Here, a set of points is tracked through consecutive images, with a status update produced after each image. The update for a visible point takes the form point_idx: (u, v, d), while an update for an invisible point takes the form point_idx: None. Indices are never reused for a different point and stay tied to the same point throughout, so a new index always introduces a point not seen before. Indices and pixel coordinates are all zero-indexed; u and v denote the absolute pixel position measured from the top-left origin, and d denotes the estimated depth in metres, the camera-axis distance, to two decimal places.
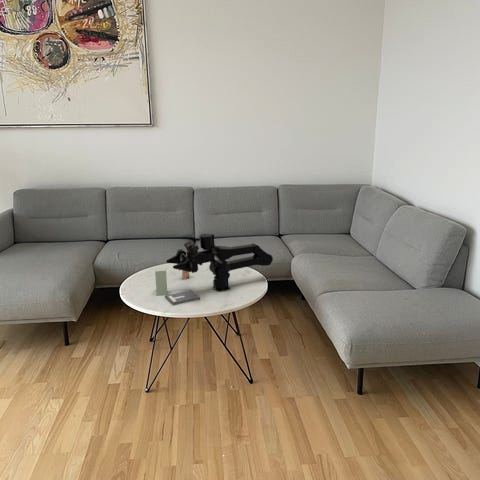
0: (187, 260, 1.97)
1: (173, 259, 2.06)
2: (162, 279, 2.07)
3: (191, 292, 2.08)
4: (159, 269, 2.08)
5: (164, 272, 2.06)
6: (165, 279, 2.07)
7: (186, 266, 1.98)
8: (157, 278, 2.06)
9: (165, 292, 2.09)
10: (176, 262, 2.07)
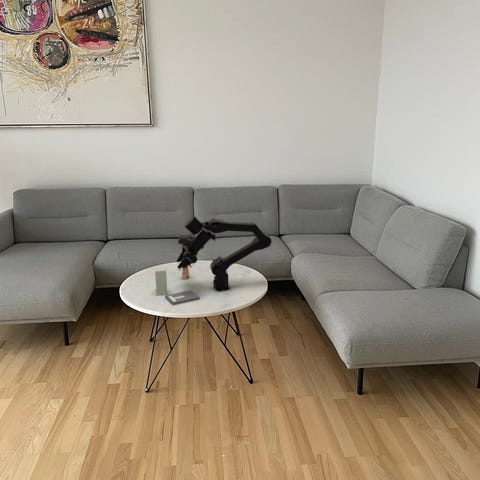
0: (183, 256, 2.01)
1: (181, 256, 2.13)
2: (162, 279, 2.07)
3: (191, 292, 2.08)
4: (159, 269, 2.08)
5: (164, 272, 2.06)
6: (165, 279, 2.07)
7: (187, 260, 2.03)
8: (157, 278, 2.06)
9: (165, 292, 2.09)
10: None
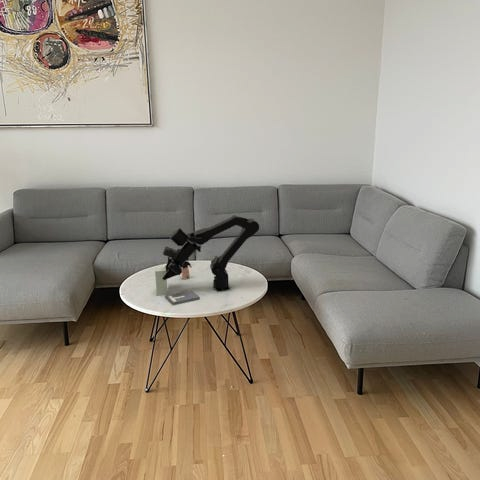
0: (168, 267, 2.02)
1: (167, 267, 2.13)
2: (162, 279, 2.07)
3: (191, 292, 2.08)
4: (159, 269, 2.08)
5: (164, 272, 2.06)
6: None
7: (172, 272, 2.03)
8: (157, 278, 2.06)
9: (165, 292, 2.09)
10: None
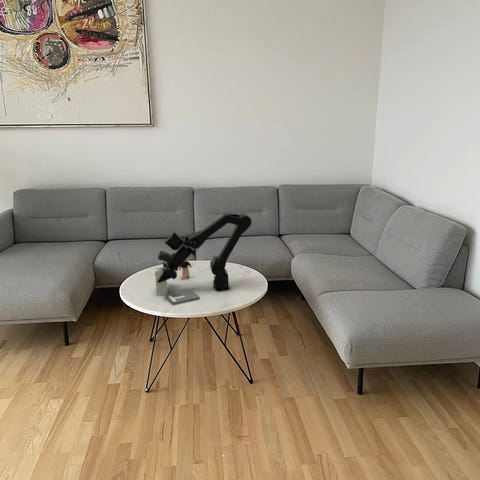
0: (163, 270, 2.04)
1: None
2: None
3: (191, 292, 2.08)
4: (159, 269, 2.08)
5: None
6: None
7: (167, 275, 2.05)
8: (157, 278, 2.06)
9: (165, 292, 2.09)
10: None
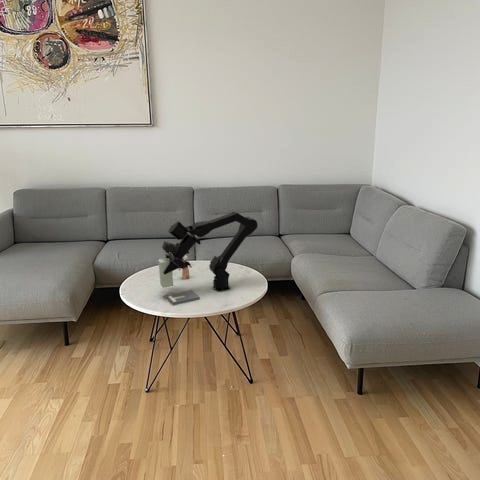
0: (170, 261, 1.98)
1: None
2: None
3: (191, 292, 2.08)
4: (163, 260, 2.02)
5: None
6: None
7: (173, 265, 2.00)
8: (163, 269, 2.00)
9: (171, 283, 2.03)
10: None
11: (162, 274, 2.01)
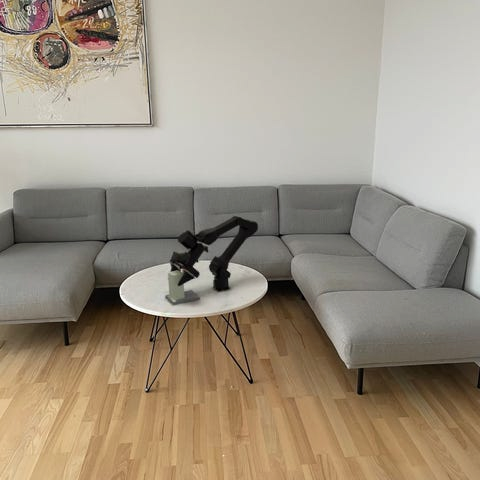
0: (185, 272, 1.94)
1: None
2: None
3: (191, 292, 2.08)
4: (174, 273, 1.98)
5: (181, 275, 1.98)
6: None
7: (187, 276, 1.96)
8: (175, 282, 1.97)
9: (182, 296, 2.01)
10: None
11: (174, 287, 1.97)
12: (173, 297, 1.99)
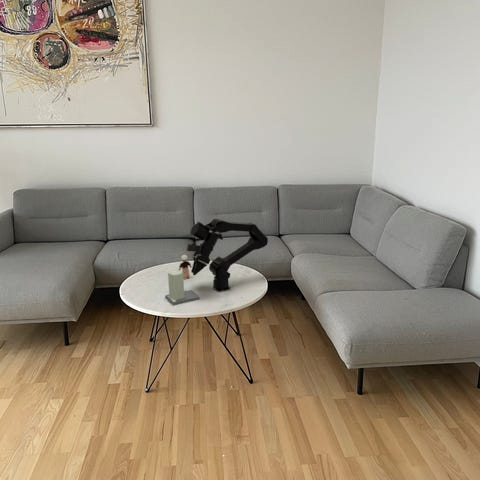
0: (195, 260, 1.99)
1: (194, 265, 2.11)
2: (180, 283, 1.98)
3: (191, 292, 2.08)
4: (174, 273, 1.98)
5: (181, 275, 1.98)
6: (182, 282, 1.99)
7: (200, 264, 2.01)
8: (175, 282, 1.97)
9: (182, 296, 2.01)
10: None
11: (174, 287, 1.97)
12: (173, 297, 1.99)
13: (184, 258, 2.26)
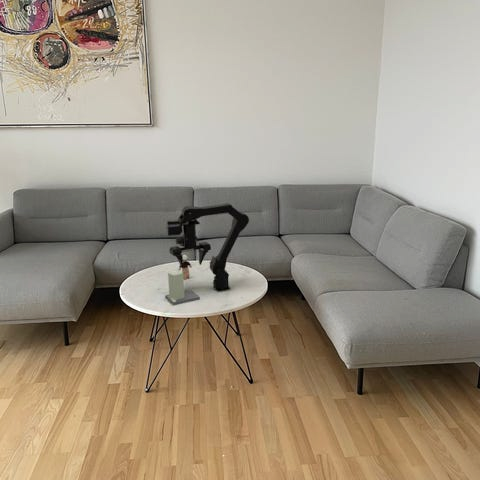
0: None
1: (200, 257, 2.10)
2: (180, 283, 1.98)
3: (191, 292, 2.08)
4: (174, 273, 1.98)
5: (181, 275, 1.98)
6: (182, 282, 1.99)
7: (179, 257, 2.04)
8: (175, 282, 1.97)
9: (182, 296, 2.01)
10: (201, 255, 2.08)
11: (174, 287, 1.97)
12: (173, 297, 1.99)
13: (184, 258, 2.26)
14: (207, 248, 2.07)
